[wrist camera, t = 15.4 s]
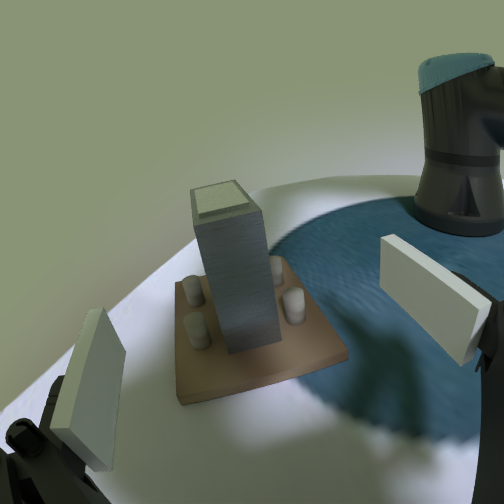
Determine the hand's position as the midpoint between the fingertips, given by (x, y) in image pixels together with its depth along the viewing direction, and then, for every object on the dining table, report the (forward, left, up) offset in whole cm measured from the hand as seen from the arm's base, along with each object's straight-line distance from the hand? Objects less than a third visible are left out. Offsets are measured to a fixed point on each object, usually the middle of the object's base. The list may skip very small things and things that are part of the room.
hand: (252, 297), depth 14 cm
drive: (0, -11, -8) cm, 13 cm away
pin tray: (0, -11, -9) cm, 14 cm away
